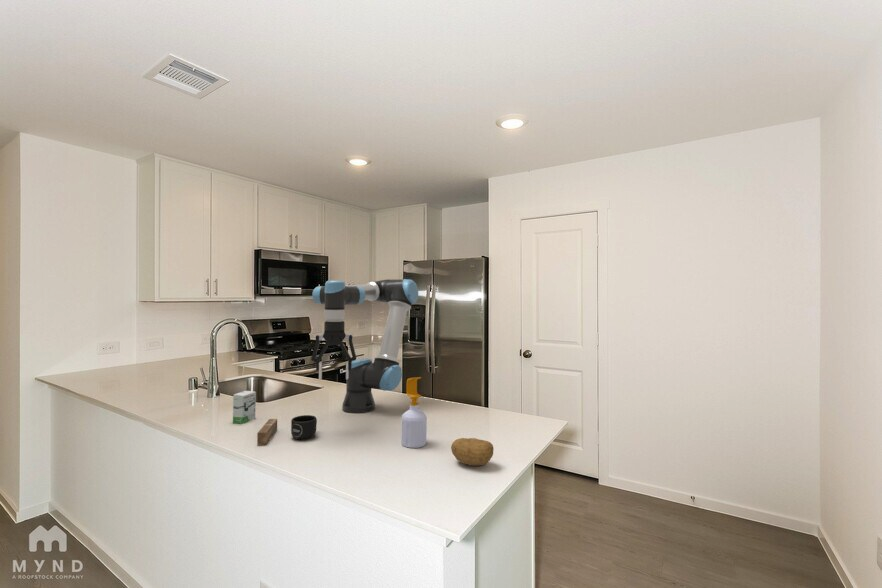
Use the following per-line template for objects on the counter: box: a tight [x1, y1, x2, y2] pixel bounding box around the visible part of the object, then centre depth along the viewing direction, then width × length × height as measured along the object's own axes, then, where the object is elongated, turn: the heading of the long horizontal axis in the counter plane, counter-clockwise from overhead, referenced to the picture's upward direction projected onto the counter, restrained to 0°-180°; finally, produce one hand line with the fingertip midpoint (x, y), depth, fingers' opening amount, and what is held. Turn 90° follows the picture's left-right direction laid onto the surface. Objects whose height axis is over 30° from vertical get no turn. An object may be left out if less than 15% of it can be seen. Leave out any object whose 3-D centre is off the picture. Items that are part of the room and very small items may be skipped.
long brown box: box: [256, 418, 278, 446], centre depth 153 cm, size 3×16×5 cm, turn 9°
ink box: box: [232, 390, 257, 425], centre depth 173 cm, size 9×5×12 cm, turn 168°
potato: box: [450, 437, 494, 467], centre depth 132 cm, size 10×14×8 cm
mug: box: [290, 414, 318, 441], centre depth 155 cm, size 12×9×7 cm
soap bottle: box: [401, 376, 428, 449], centre depth 149 cm, size 9×9×25 cm
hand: (333, 378), depth 157 cm, fingers open, 9 cm apart
